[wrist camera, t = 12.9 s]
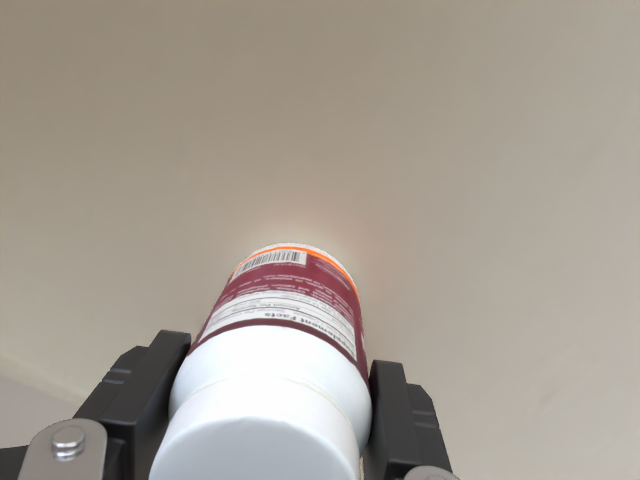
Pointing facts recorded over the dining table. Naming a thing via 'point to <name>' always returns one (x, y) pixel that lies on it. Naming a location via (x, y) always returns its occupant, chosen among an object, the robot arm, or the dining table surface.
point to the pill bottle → (273, 377)
